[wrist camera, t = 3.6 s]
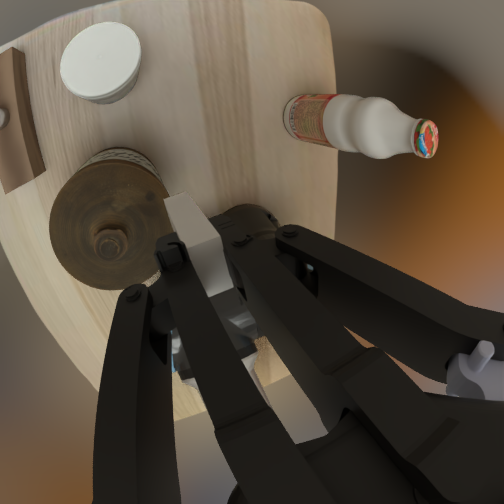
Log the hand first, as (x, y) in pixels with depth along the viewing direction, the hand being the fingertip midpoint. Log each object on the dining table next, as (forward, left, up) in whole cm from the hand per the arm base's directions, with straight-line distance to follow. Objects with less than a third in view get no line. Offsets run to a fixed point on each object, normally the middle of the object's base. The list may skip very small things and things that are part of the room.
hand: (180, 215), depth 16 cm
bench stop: (+21, -15, -29) cm, 39 cm away
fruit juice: (-29, -1, -30) cm, 42 cm away
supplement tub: (+4, -15, -30) cm, 33 cm away
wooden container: (+7, +4, -30) cm, 31 cm away
